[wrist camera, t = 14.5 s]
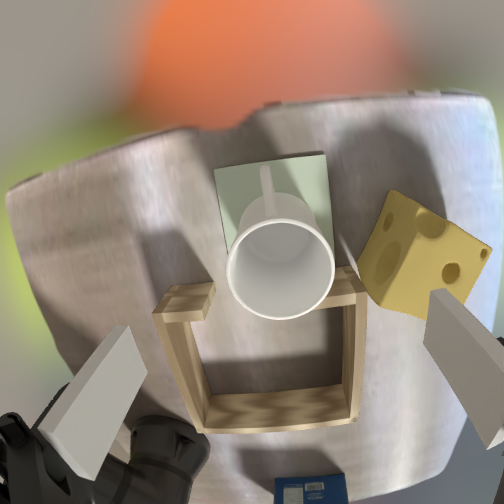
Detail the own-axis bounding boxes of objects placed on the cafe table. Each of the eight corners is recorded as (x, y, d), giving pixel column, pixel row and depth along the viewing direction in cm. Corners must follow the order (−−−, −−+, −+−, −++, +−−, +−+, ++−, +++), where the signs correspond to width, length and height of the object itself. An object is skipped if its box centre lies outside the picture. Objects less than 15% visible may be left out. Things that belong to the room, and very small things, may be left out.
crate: (206, 399, 43) (197, 433, 37) (170, 285, 37) (151, 313, 30) (349, 388, 41) (358, 421, 34) (351, 265, 35) (367, 291, 28)
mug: (232, 165, 32) (210, 173, 20) (313, 159, 31) (336, 164, 19) (243, 269, 35) (229, 325, 24) (317, 264, 34) (337, 318, 23)
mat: (232, 271, 36) (231, 273, 35) (214, 169, 32) (213, 169, 32) (334, 259, 35) (335, 260, 34) (324, 154, 31) (325, 154, 30)
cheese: (387, 187, 31) (428, 202, 22) (452, 224, 32) (499, 249, 23) (349, 267, 35) (374, 308, 25) (416, 295, 35) (450, 336, 26)
